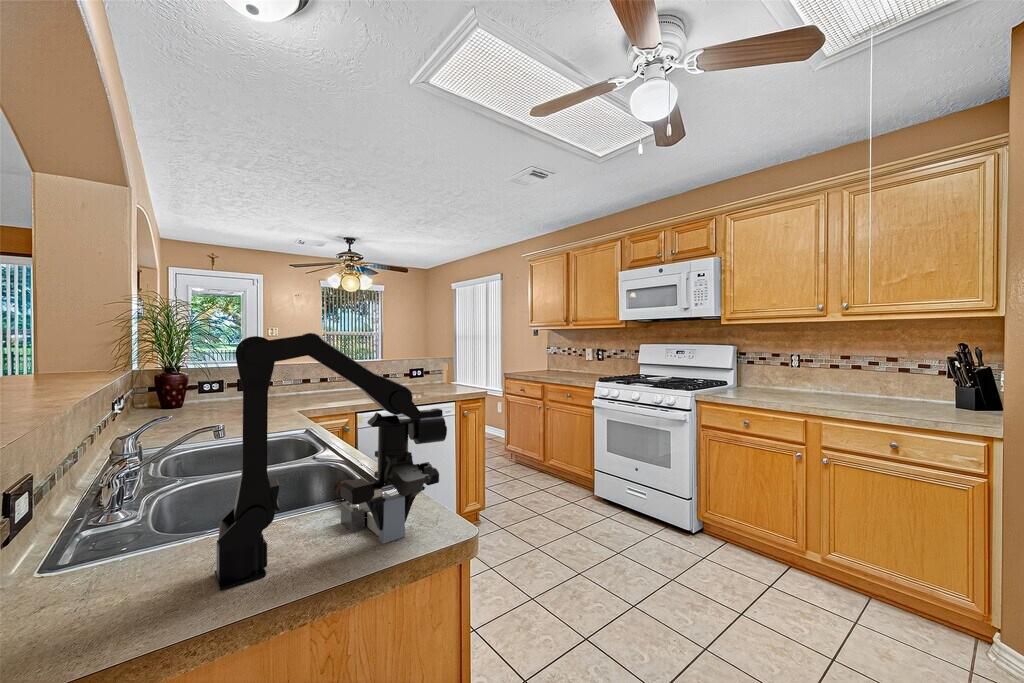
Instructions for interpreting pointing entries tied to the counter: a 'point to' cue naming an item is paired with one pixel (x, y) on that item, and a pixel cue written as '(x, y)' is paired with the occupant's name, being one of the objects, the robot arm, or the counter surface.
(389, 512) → the handle
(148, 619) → the counter surface
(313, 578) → the counter surface
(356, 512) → the housing
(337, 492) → the brown lumpy shape
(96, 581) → the counter surface
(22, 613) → the counter surface
